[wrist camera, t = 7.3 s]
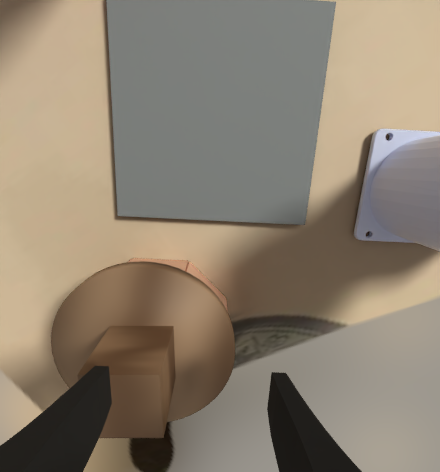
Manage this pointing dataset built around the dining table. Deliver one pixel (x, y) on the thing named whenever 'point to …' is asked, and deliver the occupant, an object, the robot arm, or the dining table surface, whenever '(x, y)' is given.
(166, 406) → the brown disc
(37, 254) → the dining table surface
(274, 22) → the mat
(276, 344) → the dining table surface
